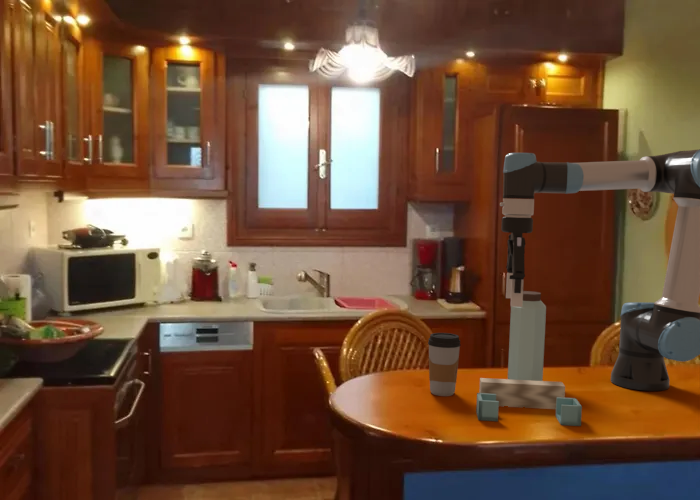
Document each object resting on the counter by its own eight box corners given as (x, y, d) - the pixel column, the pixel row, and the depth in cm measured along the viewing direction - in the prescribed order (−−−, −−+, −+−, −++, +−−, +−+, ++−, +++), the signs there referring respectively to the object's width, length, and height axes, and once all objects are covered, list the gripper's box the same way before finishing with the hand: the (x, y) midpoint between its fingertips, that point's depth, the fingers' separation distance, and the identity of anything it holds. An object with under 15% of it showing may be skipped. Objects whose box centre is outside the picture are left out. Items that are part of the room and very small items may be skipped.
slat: (560, 405, 179) (561, 382, 179) (563, 410, 175) (565, 386, 175) (479, 401, 181) (479, 377, 180) (480, 406, 177) (481, 382, 176)
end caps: (574, 417, 169) (575, 398, 169) (580, 426, 163) (581, 406, 162) (476, 411, 171) (477, 392, 171) (478, 420, 165) (479, 400, 165)
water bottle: (534, 389, 192) (539, 296, 190) (500, 382, 198) (504, 292, 196) (549, 382, 200) (553, 292, 198) (515, 376, 206) (519, 289, 204)
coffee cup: (457, 398, 182) (460, 339, 181) (424, 395, 184) (426, 337, 182) (459, 389, 190) (461, 333, 189) (427, 387, 192) (429, 331, 190)
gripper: (498, 214, 190) (495, 294, 192) (505, 217, 165) (502, 309, 167) (527, 215, 189) (523, 295, 191) (539, 218, 164) (535, 310, 166)
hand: (513, 302), depth 179 cm, fingers open, 13 cm apart
